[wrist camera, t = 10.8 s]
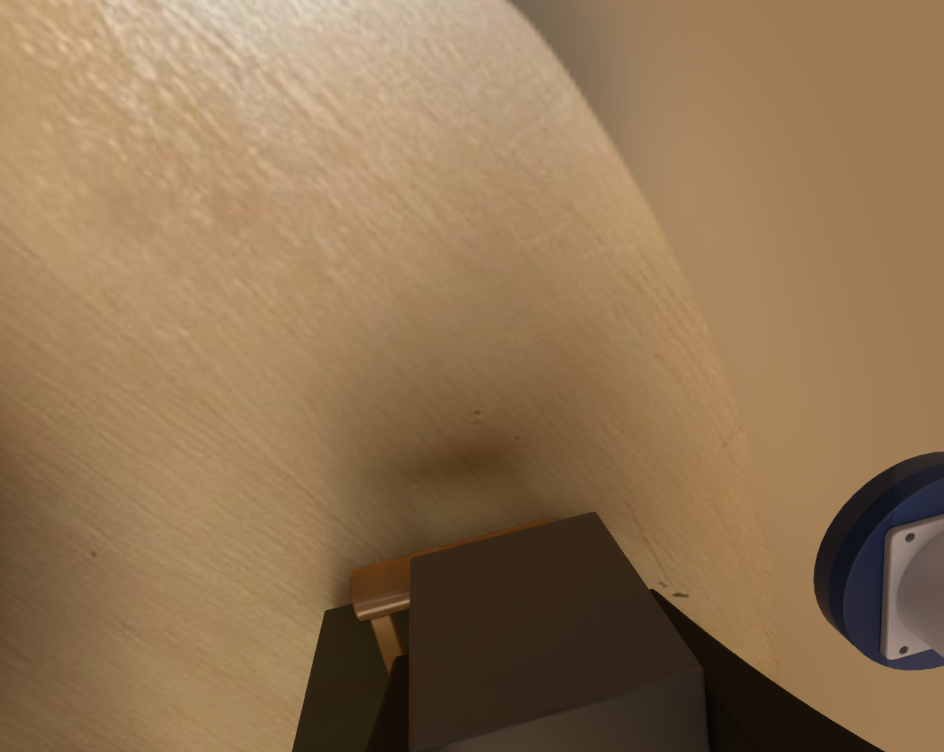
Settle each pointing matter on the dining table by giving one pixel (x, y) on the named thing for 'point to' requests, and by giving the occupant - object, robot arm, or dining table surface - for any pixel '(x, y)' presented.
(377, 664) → the drawer
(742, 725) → the robot arm
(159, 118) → the dining table surface
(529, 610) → the block
